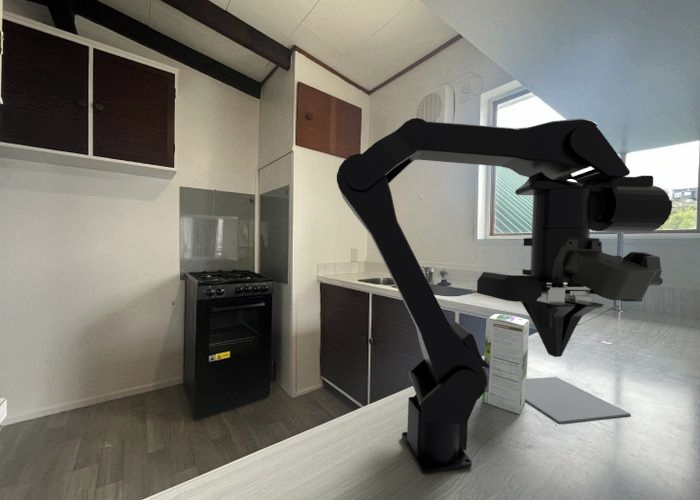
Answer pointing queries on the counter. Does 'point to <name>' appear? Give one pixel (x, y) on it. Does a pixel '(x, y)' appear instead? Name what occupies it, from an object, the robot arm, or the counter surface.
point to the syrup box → (506, 361)
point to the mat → (567, 401)
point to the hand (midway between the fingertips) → (554, 355)
